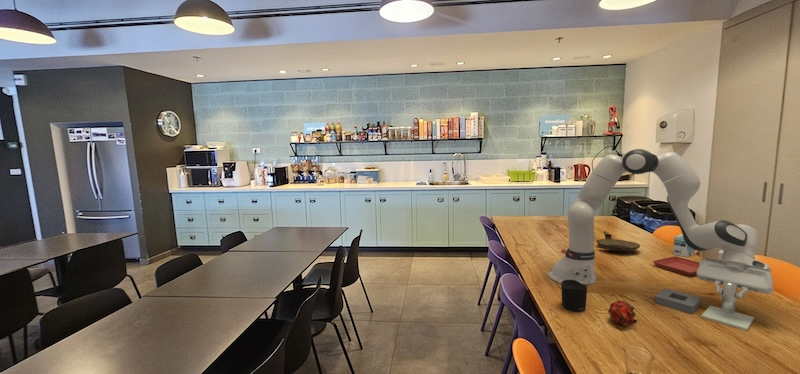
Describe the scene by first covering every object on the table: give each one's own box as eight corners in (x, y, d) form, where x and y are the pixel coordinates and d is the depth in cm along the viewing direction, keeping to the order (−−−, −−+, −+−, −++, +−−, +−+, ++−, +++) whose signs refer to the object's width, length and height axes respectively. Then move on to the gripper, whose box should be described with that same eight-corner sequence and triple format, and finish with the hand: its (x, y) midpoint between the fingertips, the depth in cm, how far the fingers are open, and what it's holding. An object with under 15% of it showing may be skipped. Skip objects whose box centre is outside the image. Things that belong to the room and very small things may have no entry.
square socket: (692, 314, 127) (692, 306, 127) (654, 303, 137) (655, 296, 136) (701, 304, 134) (701, 297, 133) (664, 294, 144) (665, 287, 143)
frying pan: (595, 253, 198) (596, 241, 197) (596, 240, 224) (596, 229, 223) (641, 259, 187) (642, 245, 186) (637, 244, 212) (637, 232, 211)
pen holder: (562, 311, 134) (562, 287, 132) (560, 300, 142) (560, 278, 141) (588, 314, 130) (589, 290, 129) (584, 303, 139) (585, 280, 138)
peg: (728, 314, 121) (731, 285, 119) (718, 309, 124) (720, 281, 123) (737, 313, 121) (739, 284, 120) (727, 308, 125) (729, 280, 123)
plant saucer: (651, 266, 176) (651, 260, 175) (674, 261, 181) (675, 255, 181) (690, 278, 159) (690, 272, 158) (714, 272, 164) (715, 266, 164)
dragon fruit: (623, 318, 129) (624, 338, 119) (602, 303, 131) (602, 321, 122) (639, 305, 125) (642, 325, 115) (618, 290, 127) (619, 308, 117)
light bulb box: (686, 257, 185) (688, 239, 184) (672, 254, 191) (673, 236, 190) (695, 254, 190) (697, 235, 189) (681, 251, 196) (682, 233, 195)
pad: (747, 330, 115) (747, 328, 115) (701, 317, 124) (701, 315, 124) (753, 319, 122) (753, 317, 121) (710, 307, 131) (710, 305, 131)
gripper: (699, 253, 133) (690, 282, 128) (775, 266, 116) (768, 301, 112) (702, 261, 136) (693, 290, 132) (776, 275, 119) (769, 309, 115)
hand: (728, 295), depth 122 cm, fingers closed on peg, 4 cm apart
